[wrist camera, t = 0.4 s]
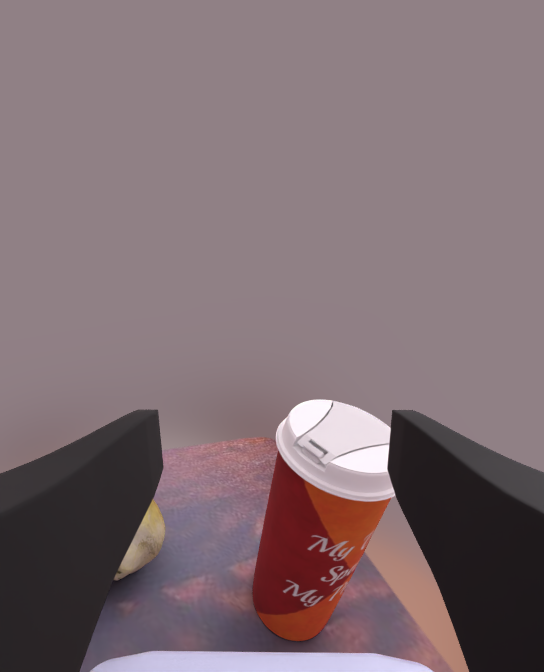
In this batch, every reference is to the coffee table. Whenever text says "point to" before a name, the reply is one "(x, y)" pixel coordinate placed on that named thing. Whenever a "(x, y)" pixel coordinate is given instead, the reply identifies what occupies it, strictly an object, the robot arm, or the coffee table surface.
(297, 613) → the coffee cup
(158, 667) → the robot arm
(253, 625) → the coffee table surface
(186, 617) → the coffee table surface
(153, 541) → the fruit
